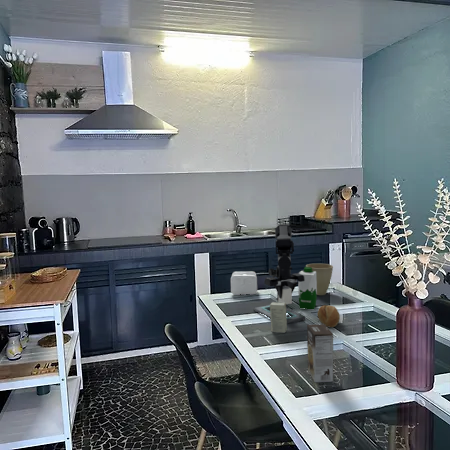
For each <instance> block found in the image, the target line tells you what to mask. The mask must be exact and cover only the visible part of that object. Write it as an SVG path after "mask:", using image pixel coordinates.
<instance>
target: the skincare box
mask: <svg viewBox="0 0 450 450" xmlns="http://www.w3.org/2000/svg"><path fill="white" fill-rule="evenodd" d="M269 305H270V310H269V311H270V315H271V320H270V329H271V331H270V332H272V333H287V330H288V323H287V319H286V318H287V316H286V308H287V304H286V303H284V302H278V301H271V303H270V304H269Z"/></svg>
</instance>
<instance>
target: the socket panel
mask: <svg viewBox="0 0 450 450" xmlns="http://www.w3.org/2000/svg"><path fill="white" fill-rule="evenodd" d="M253 311H254V312H255V313H257V312H258V313H257V314H259V313H261V314H264V315H266V316H267V317H269V318H270V319H271V315H270V304H267V305H263V306H257V307H253ZM286 313H288V314H289V315H290V316H291V317H289V316H286V319H287V324H292V323H296V322H297V323H298V322H302V321H306V316H305V315H302V314H301V313H298V312H296V311H294V310H292V309H290V308H288V307H286ZM261 314H260V315H261ZM270 319H269V320H270Z"/></svg>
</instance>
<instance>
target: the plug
mask: <svg viewBox="0 0 450 450" xmlns="http://www.w3.org/2000/svg"><path fill="white" fill-rule="evenodd" d="M292 297H293V292H292V289H291V288H290V287H287V286H283V289H282V298H281V299H280V298H279V295H278V300H277V302H284V303H286V305H291V304H292V303H293V300H292V299H293V298H292Z"/></svg>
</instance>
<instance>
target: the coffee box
mask: <svg viewBox="0 0 450 450" xmlns="http://www.w3.org/2000/svg"><path fill="white" fill-rule="evenodd" d="M306 334H307V335H306V336H307V339H306V340H307V341H306V342H307V343H306V344H307V346H306V347H307V371H308V373H309V374H310V376H311V378H312V380H313V382H314V383H327V382H329V383H330V382H334V333H333V332H332V331H331V330H330V327H327V326H326V325H325V324H322V323H321V324H318V323H316V324H306Z"/></svg>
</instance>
